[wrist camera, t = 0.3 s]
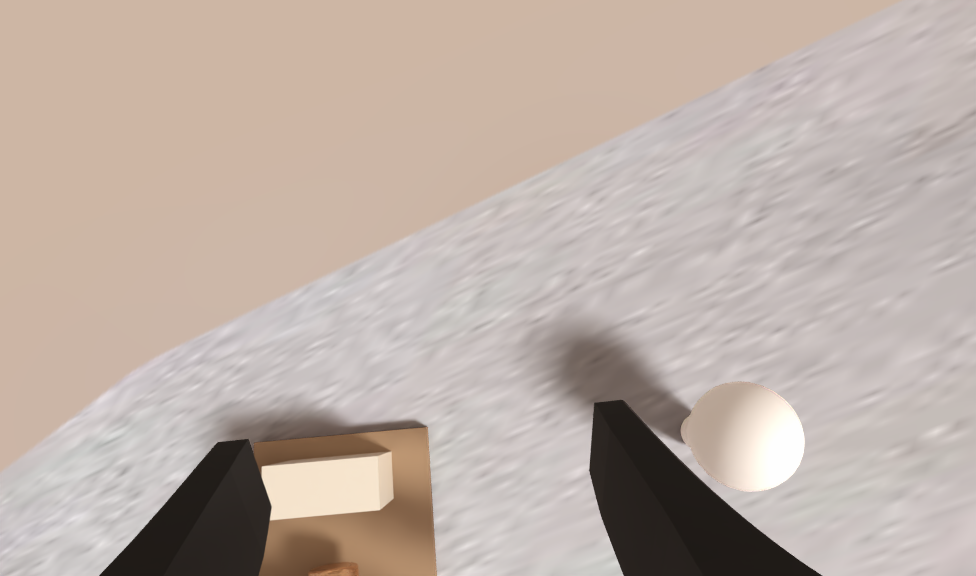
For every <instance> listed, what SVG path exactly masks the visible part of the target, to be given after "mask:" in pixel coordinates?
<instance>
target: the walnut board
mask: <svg viewBox="0 0 976 576" xmlns="http://www.w3.org/2000/svg"><path fill="white" fill-rule="evenodd" d="M388 451H391V452H392V473H393V495H394V499H392V500H391V501H390V502H389V503H388V504H387V505H385V506H384V507H383V508H382V509H381V510H377V511H366V512H355V513H344V514H333V515H323V516H312V517H301V518H290V519H280V520H270V522H269V529H268V535H267V541H266V547H265V553H264V558H263V561H262V565H261V569H260V572H259V576H308V572H309V571H310V570H312V569H314V568H316V567H319V566H323V565H327V564H332V563H340V562H354V563H357V564H358V569H359V576H437V570H436V554H435V538H434V522H433V505H432V489H431V473H430V456H429V440H428V427H422V428H411V429H400V430H389V431H378V432H367V433H356V434H344V435H333V436H322V437H311V438H300V439H289V440H278V441H267V442H256V443H254V457H255V460H256V462H257V465H258V468H259V471H260V474H261V477H262V466H267V465H271V464H276V463H280V462H285V461H290V460H300V459H311V458H322V457H333V456H344V455H355V454H366V453H377V452H388Z"/></svg>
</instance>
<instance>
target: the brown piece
mask: <svg viewBox="0 0 976 576" xmlns="http://www.w3.org/2000/svg"><path fill="white" fill-rule="evenodd" d="M308 576H359V569H358V564H357V563H354V562H340V563H332V564H327V565H323V566H319V567H316V568H314V569H312V570H310V571H309V572H308Z"/></svg>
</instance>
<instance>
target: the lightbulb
mask: <svg viewBox="0 0 976 576" xmlns="http://www.w3.org/2000/svg"><path fill="white" fill-rule="evenodd" d="M681 436H682V439H683V441H684V442H685V443H686V445H687V446H689V447H690V448H691V450H692V453H693V455H694V457H695V459H696V460H697V462H698V463H699V465H700V466H701V467H702V468H703V469H704V470H705V471H706V473H707V474H708V475H710V476H711V477H712V478H713V479H715V480H716V481H717V482H719V483H721V484H723V485H725V486H727V487H730V488H734V489H737V490H741V491H750V492H754V491H762V490H767V489H770V488H773V487H776V486H778V485H779V484H781V483H782V482H784V481H786V480H787V479H788V478H789V477H790V476H791V475H792V474H793V473H794V472H795V470H796V469H797V467H798V466H799V464H800V462H801V459H802V456H803V451H804V433H803V429H802V425H801V423H800V420H799V418H798V416H797V414H796V413H795V411H794V410H793V408H792V407H791V406H790V405H789V404H788V403H787V402H786V401H785V399H783V398H782V397H781V396H779V395H778V394H777V393H775V392H774V391H772V390H770V389H768V388H766V387H764V386H761V385H757V384H754V383H750V382H731V383H725V384H722V385H719V386H716V387H714V388H713V389H711V390H709V391H708V392H707V393H706V394H705V395H703V396H702V397H701V398H700V399H699V400H698V402H697V403H696V405H695V406H694V407H693V410H692V412H691V414H690V416H688V417H687V418H686V419H685V420H684V421H683V423H682V425H681Z"/></svg>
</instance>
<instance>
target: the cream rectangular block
mask: <svg viewBox="0 0 976 576" xmlns="http://www.w3.org/2000/svg"><path fill="white" fill-rule="evenodd" d="M262 480H263V483H264V486H265V488H266V491H267V494H268V497H269V500H270V503H271V506H272V509H271V516H270V520H280V519H290V518H301V517H312V516H323V515H333V514H344V513H355V512H366V511H377V510H381V509H382V508H383V507H384V506H385V505H387V504H388V503H389V502H390V501H391V500H392V499H394V495H393V473H392V452H391V451H388V452H377V453H366V454H355V455H344V456H333V457H322V458H311V459H300V460H290V461H285V462H280V463H276V464H271V465H267V466H262Z"/></svg>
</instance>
